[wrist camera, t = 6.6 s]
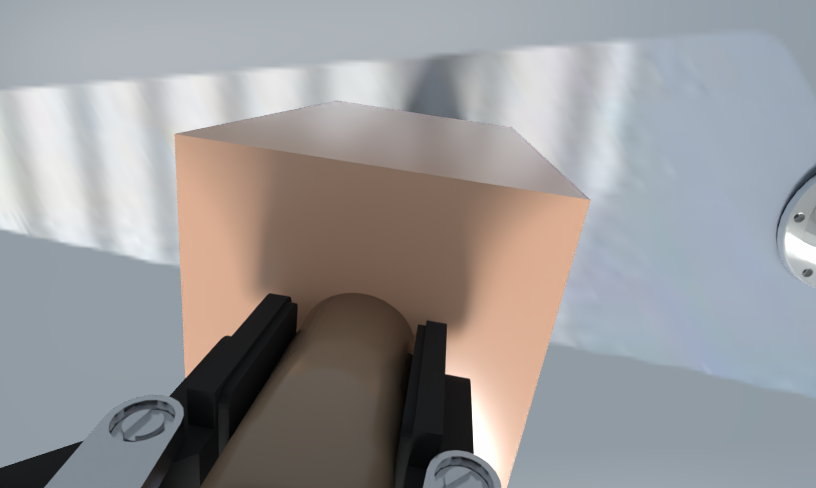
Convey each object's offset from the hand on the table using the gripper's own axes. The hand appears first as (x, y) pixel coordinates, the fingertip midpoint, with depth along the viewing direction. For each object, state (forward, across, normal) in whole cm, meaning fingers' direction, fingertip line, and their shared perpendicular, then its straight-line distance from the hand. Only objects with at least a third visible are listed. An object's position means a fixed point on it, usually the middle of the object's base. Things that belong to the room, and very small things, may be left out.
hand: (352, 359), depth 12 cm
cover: (+17, 0, 0) cm, 17 cm away
